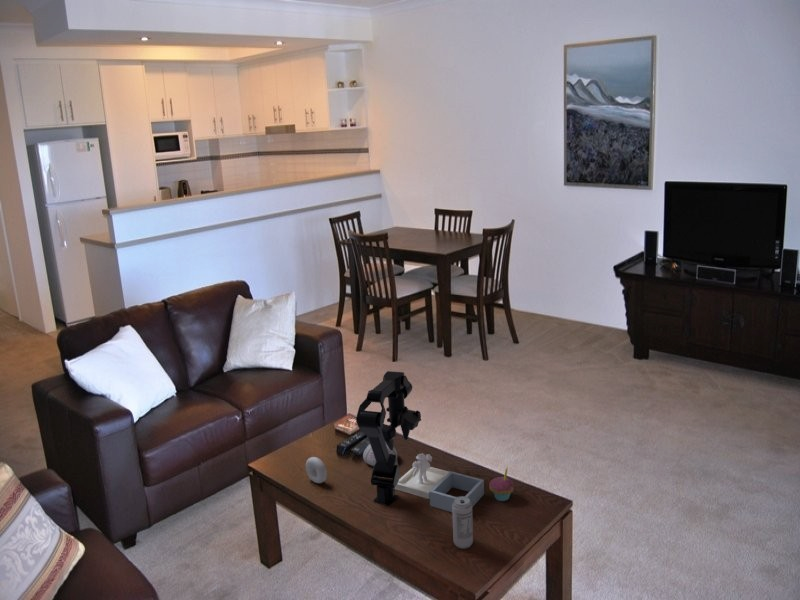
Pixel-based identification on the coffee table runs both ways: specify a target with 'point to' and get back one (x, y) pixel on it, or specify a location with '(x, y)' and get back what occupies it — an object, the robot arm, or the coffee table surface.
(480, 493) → the deep square frame
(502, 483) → the cupcake
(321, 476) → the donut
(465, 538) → the energy drink can
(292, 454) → the coffee table surface
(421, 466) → the flower shoulder figurine
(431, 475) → the tray
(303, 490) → the coffee table surface
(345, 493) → the coffee table surface
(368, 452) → the sea urchin shell
